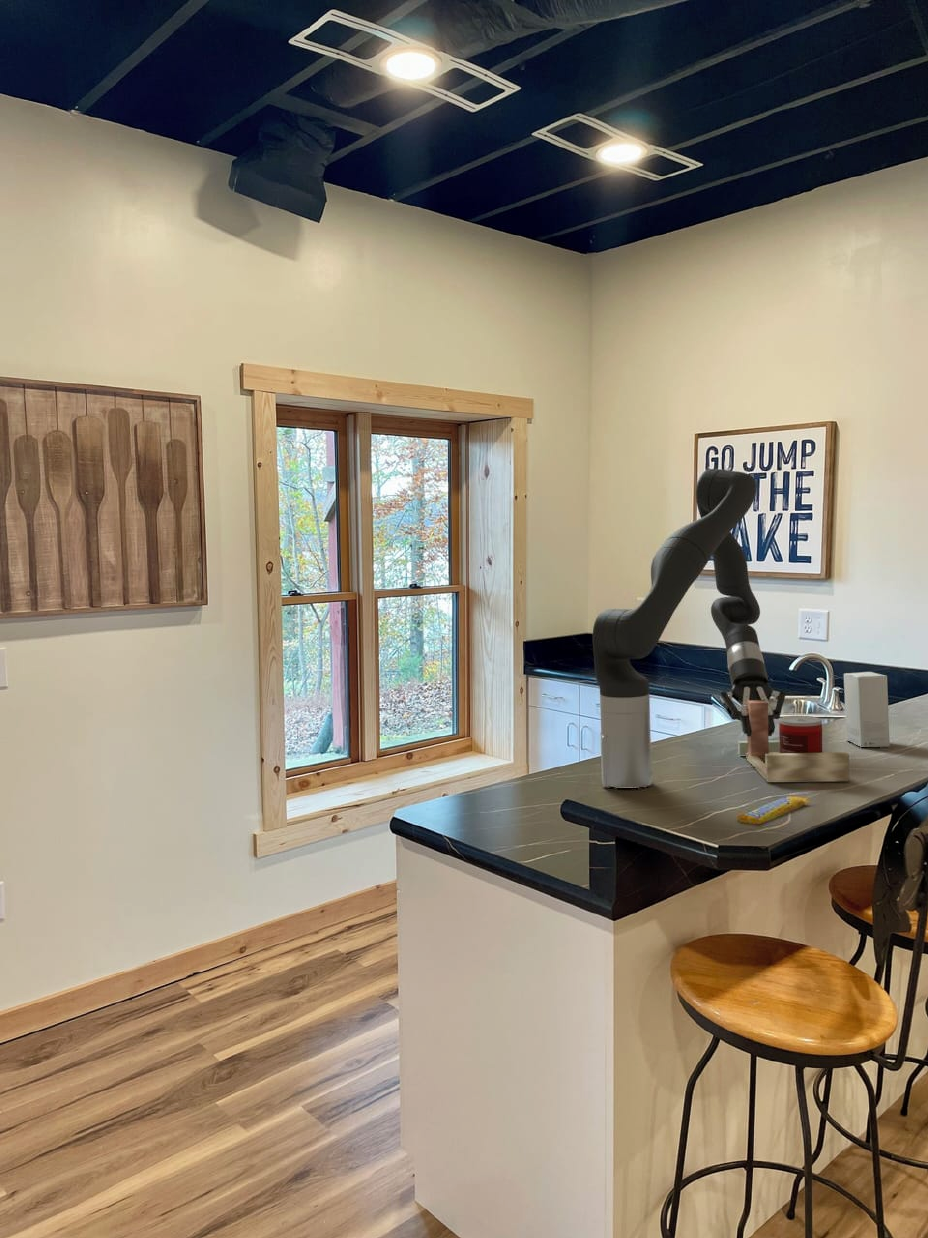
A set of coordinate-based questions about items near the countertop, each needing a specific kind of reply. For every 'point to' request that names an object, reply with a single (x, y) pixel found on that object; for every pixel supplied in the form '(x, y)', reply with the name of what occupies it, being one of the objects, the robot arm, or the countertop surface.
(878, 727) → the skincare box
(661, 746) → the countertop surface
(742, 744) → the stop rail
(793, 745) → the canned food
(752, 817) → the candy bar
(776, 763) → the shallow wooden tray
